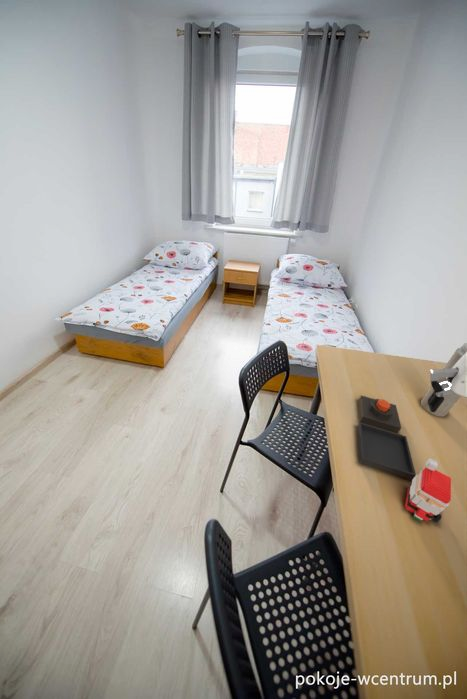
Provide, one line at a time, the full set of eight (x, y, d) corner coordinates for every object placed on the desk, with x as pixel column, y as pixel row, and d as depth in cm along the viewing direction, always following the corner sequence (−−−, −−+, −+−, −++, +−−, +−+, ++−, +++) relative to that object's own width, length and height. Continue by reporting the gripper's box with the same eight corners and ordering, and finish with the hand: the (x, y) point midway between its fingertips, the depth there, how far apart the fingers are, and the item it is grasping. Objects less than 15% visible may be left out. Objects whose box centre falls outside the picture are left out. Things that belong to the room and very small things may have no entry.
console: (392, 410, 91) (398, 401, 89) (397, 433, 83) (404, 423, 81) (358, 401, 94) (362, 391, 91) (359, 422, 86) (365, 412, 83)
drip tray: (402, 441, 81) (406, 436, 80) (411, 480, 71) (416, 475, 69) (356, 427, 84) (359, 422, 82) (359, 463, 73) (362, 458, 72)
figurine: (436, 531, 61) (467, 504, 54) (401, 511, 64) (427, 482, 57) (437, 500, 67) (466, 472, 60) (405, 483, 70) (429, 454, 63)
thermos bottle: (446, 406, 96) (498, 338, 80) (446, 420, 90) (503, 350, 75) (421, 396, 99) (466, 329, 84) (420, 408, 94) (468, 339, 78)
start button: (387, 405, 87) (389, 401, 86) (388, 413, 84) (391, 409, 83) (375, 401, 88) (377, 397, 87) (376, 409, 85) (378, 405, 84)
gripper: (564, 353, 48) (499, 419, 57) (451, 324, 53) (409, 390, 62) (590, 377, 42) (513, 447, 52) (461, 343, 47) (413, 412, 56)
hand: (456, 416), depth 57 cm, fingers open, 9 cm apart
